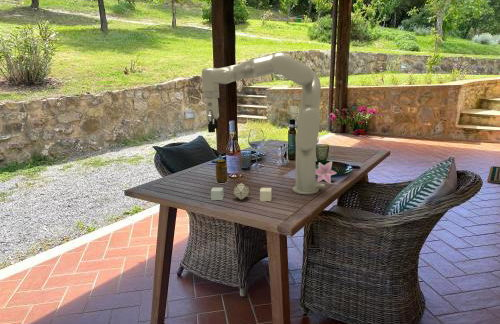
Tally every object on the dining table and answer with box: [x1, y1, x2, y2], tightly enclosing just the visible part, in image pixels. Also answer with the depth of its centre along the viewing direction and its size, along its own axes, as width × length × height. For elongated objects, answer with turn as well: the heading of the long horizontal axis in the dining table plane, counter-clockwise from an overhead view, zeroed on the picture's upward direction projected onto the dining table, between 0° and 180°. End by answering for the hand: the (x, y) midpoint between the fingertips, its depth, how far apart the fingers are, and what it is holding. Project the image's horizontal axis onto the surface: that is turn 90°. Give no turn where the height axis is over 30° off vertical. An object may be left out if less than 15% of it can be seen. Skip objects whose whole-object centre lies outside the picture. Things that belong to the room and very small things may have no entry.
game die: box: [232, 181, 251, 202], centre depth 184 cm, size 9×8×10 cm
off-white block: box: [259, 187, 273, 202], centre depth 183 cm, size 5×5×5 cm
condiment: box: [215, 159, 229, 184], centre depth 209 cm, size 7×8×12 cm
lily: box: [315, 161, 337, 184], centre depth 207 cm, size 12×12×10 cm
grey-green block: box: [210, 187, 225, 201], centre depth 185 cm, size 5×5×5 cm
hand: (213, 130), depth 190 cm, fingers open, 9 cm apart
